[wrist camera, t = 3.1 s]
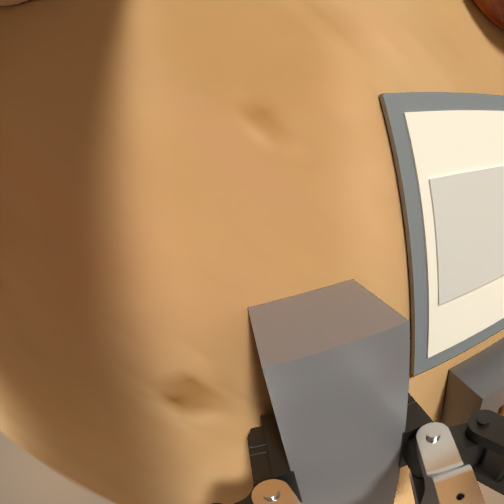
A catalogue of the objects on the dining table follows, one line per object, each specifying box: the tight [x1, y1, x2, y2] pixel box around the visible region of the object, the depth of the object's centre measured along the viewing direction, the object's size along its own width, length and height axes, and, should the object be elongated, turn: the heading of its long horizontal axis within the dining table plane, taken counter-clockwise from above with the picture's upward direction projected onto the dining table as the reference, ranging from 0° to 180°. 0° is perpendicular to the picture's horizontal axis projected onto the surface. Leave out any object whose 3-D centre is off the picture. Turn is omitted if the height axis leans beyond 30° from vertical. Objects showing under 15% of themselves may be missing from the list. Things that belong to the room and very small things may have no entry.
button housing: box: [441, 338, 504, 427], centre depth 13 cm, size 8×8×3 cm
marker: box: [248, 279, 410, 504], centre depth 11 cm, size 13×4×4 cm, turn 13°
